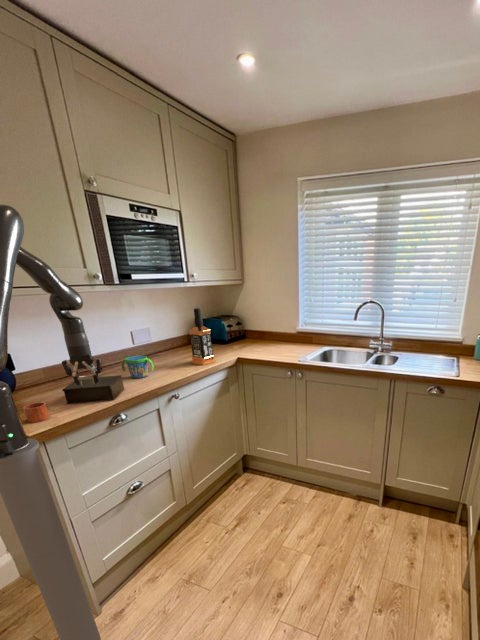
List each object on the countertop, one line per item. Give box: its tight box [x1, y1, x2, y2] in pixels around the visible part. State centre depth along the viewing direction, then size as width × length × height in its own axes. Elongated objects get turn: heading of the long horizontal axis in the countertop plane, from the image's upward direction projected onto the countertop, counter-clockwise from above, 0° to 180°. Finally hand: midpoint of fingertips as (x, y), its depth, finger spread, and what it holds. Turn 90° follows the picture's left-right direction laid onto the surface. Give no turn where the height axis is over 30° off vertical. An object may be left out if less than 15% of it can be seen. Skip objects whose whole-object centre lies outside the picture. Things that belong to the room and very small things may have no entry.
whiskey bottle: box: [188, 307, 216, 366], centre depth 196 cm, size 10×10×32 cm
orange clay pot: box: [22, 401, 50, 423], centre depth 121 cm, size 6×6×6 cm
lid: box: [62, 374, 123, 392], centre depth 143 cm, size 16×18×5 cm
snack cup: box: [121, 355, 155, 379], centre depth 172 cm, size 16×10×10 cm
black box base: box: [63, 377, 125, 405], centre depth 145 cm, size 16×18×6 cm
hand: (87, 383), depth 138 cm, fingers closed on lid, 6 cm apart
